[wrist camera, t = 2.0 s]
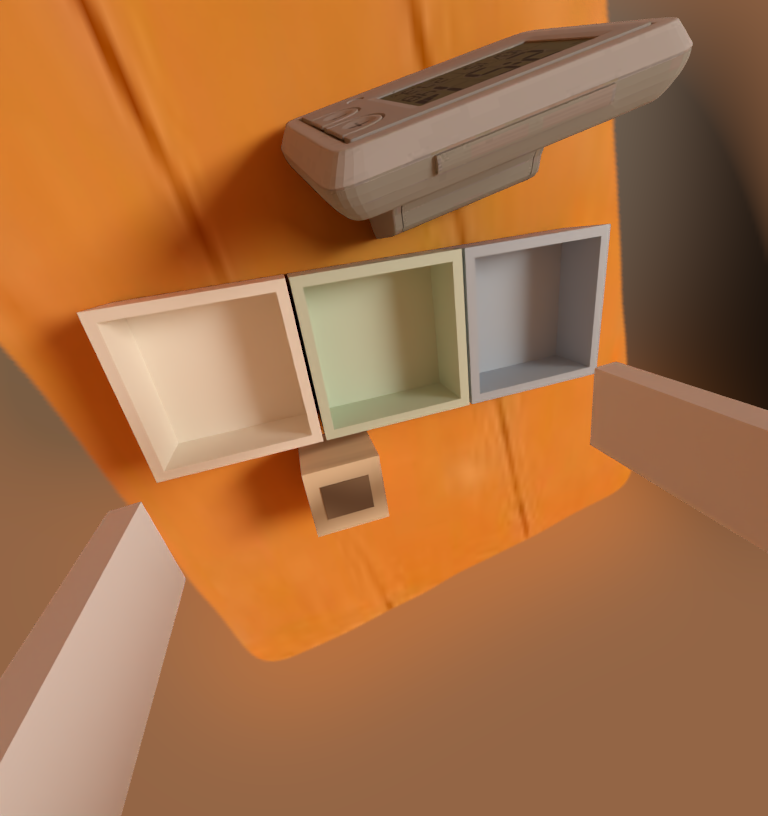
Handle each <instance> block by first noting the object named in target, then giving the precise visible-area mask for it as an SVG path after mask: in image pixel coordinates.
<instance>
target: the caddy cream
mask: <svg viewBox="0 0 768 816" xmlns="http://www.w3.org/2000/svg"><path fill="white" fill-rule="evenodd" d="M77 315H78V317H79V319H80V321H81V323H82V325H83V327H84V329H85V332H86V334H87V336H88V338H89V340H90V342H91V344H92V346H93V348H94V351H95V353H96V355H97V357H98V359H99V361H100V363H101V365H102V368H103V370H104V372H105V374H106V376H107V378H108V380H109V382H110V384H111V387H112V389H113V391H114V393H115V395H116V397H117V399H118V401H119V404H120V406H121V408H122V410H123V412H124V414H125V416H126V418H127V420H128V423H129V425H130V427H131V429H132V431H133V433H134V435H135V437H136V440H137V442H138V444H139V446H140V448H141V450H142V452H143V454H144V456H145V459H146V461H147V463H148V465H149V467H150V469H151V471H152V473H153V476H154V478H155V480H156V482H157V483H158V482H162V481H166V480H170V479H174V478H178V477H182V476H186V475H190V474H194V473H198V472H202V471H206V470H210V469H214V468H218V467H222V466H226V465H230V464H234V463H238V462H242V461H246V460H251V459H255V458H259V457H263V456H267V455H271V454H275V453H279V452H283V451H287V450H291V449H295V448H299V447H303V446H307V445H311V444H315V443H319V442H323V437H322V432H321V428H320V424H319V420H318V415H317V411H316V407H315V403H314V399H313V394H312V390H311V386H310V382H309V378H308V373H307V369H306V365H305V361H304V356H303V352H302V348H301V344H300V340H299V335H298V331H297V327H296V323H295V318H294V314H293V310H292V306H291V302H290V297H289V293H288V289H287V285H286V280H285V277H284V274H282V275H276V276H270V277H264V278H257V279H251V280H245V281H239V282H233V283H227V284H221V285H215V286H209V287H203V288H197V289H191V290H185V291H178V292H172V293H166V294H160V295H154V296H148V297H142V298H136V299H130V300H124V301H118V302H112V303H108V304H105V305H101V306H98V307H95V308H91V309H88V310H84V311H81V312H78V313H77Z"/></svg>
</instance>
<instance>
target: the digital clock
mask: <svg viewBox="0 0 768 816" xmlns="http://www.w3.org/2000/svg"><path fill="white" fill-rule="evenodd" d="M692 45H693V43H692V41H691V39H690V38H689V36H688V34H687V32H686V30H685V28H684V27H683V25H682V23H681V22H680V20H679V19H678V18H675V17H667V18H655V19H645V20H634V21H623V22H613V23H602V24H592V25H581V26H571V27H561V28H550V29H540V30H532V31H527V32H523V33H519V34H517V35H514V36H511V37H508V38H506V39H503V40H500V41H498V42H495V43H492V44H489V45H487V46H484V47H482V48H479V49H476V50H474V51H471V52H468V53H466V54H463V55H461V56H458V57H455V58H453V59H450V60H447V61H445V62H442V63H440V64H437V65H434V66H432V67H429V68H426V69H424V70H421V71H419V72H416V73H413V74H411V75H408V76H405V77H403V78H400V79H398V80H395V81H392V82H390V83H387V84H384V85H382V86H379V87H377V88H374V89H371V90H369V91H366V92H363V93H361V94H358V95H356V96H353V97H350V98H348V99H345V100H342V101H340V102H337V103H335V104H332V105H329V106H327V107H324V108H322V109H319V110H316V111H314V112H311V113H309V114H306V115H304V116H301V117H298V118H296V119H294V120H291V121H290V122H288V123H287V124H286V127H285V131H284V135H283V140H282V145H281V150H282V152H283V155H284V157H285V159H286V160H287V161H288V163H289V164H290V166H291V167H292V168H293V169H294V170H295V171H296V172H297V173H298V174H299V175H300V176H301V177H302V178H303V179H304V180H305V181H306V182H307V183H308V184H309V185H310V186H311V187H312V188H313V189H314V190H315V191H316V192H317V193H318V194H319V195H320V196H321V197H322V198H323V199H324V200H325V201H326V202H327V203H329V204H330V205H331V206H332V207H333V208H334V209H336V210H337V211H338V212H339V213H341V214H342V215H344V216H345V217H347V218H349V219H352V220H357V221H361V220H366V219H369V220H370V223H371V226H372V229H373V232H374V234H375V236H376V238H377V239H380V238H386V237H392V236H395V235H397V234H399V233H402V232H404V231H406V230H409V229H411V228H413V227H416V226H418V225H421V224H423V223H425V222H428V221H430V220H432V219H435V218H437V217H440V216H442V215H444V214H447V213H449V212H451V211H454V210H456V209H459V208H461V207H463V206H466V205H468V204H470V203H473V202H475V201H478V200H480V199H482V198H485V197H487V196H489V195H492V194H494V193H496V192H499V191H501V190H504V189H506V188H508V187H511V186H513V185H515V184H518V183H520V182H523V181H525V180H528V179H530V178H531V177H533V176H534V175H535V174H536V173H537V172H538V169H539V164H540V158H541V154H542V151H543V148H544V147H545V146H548V145H550V144H553V143H555V142H557V141H560V140H562V139H565V138H567V137H570V136H572V135H574V134H577V133H579V132H582V131H584V130H586V129H589V128H591V127H594V126H596V125H598V124H601V123H603V122H606V121H608V120H610V119H613V118H615V117H618V116H620V115H622V114H625V113H627V112H629V111H632V110H634V109H636V108H639V107H641V106H643V105H645V104H648V103H650V102H652V101H654V100H655V99H657V98H658V97H660V96H661V95H662V94H663V92H664V91H665V90H666V89H667V88H668V87H669V86H670V85H671V83H672V82H673V81H674V80H675V78H676V77H677V76H678V75H679V74H680V72H681V71H682V69H683V67H684V65H685V64H686V62H687V60H688V57H689V55H690V52H691V46H692Z"/></svg>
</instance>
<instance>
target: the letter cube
mask: <svg viewBox="0 0 768 816" xmlns="http://www.w3.org/2000/svg"><path fill="white" fill-rule="evenodd" d="M322 437H323V442H319V443H315V444H311V445H307V446H303V447H299V448H298V450H299V459H300V468H301V476H302V480H303V483H304V487H305V490H306V494H307V498H308V501H309V505H310V508H311V512H312V516H313V519H314V523H315V526H316V530H317V534H318V537H320V536H324V535H327V534H331V533H334V532H337V531H341V530H344V529H347V528H351V527H354V526H358V525H361V524H364V523H368V522H371V521H375V520H378V519H381V518H385V517H388V516H389V512H388V506H387V500H386V495H385V489H384V483H383V477H382V471H381V465H380V459H379V455H378V453H377V451H376V449H375V447H374V445H373V443H372V441H371V439H370V437H369V435H368V433H367V431H363V432H359V433H355V434H351V435H347V436H343V437H339V438H335V439H331V440H326V436H325V434H322Z"/></svg>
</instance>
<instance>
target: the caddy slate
mask: <svg viewBox="0 0 768 816" xmlns="http://www.w3.org/2000/svg"><path fill="white" fill-rule="evenodd" d="M610 226H611V224H603V225H592V226H581V227H570V228H561V229H555V230H549V231H543V232H537V233H531V234H525V235H519V236H513V237H507V238H501V239H494V240H488V241H482V242H476V243H470V244H464V245H458V246H452V247H446V248H440V249H462V265H463V284H464V304H465V324H466V344H467V364H468V384H469V402H470V403H471V404H475V403H479V402H483V401H487V400H491V399H495V398H499V397H503V396H507V395H511V394H515V393H519V392H523V391H527V390H531V389H535V388H539V387H543V386H547V385H551V384H555V383H559V382H563V381H567V380H571V379H575V378H579V377H583V376H587V375H591V374H594V372H595V368H596V367H597V359H598V348H599V338H600V328H601V318H602V308H603V298H604V287H605V277H606V267H607V257H608V247H609V237H610Z"/></svg>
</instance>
